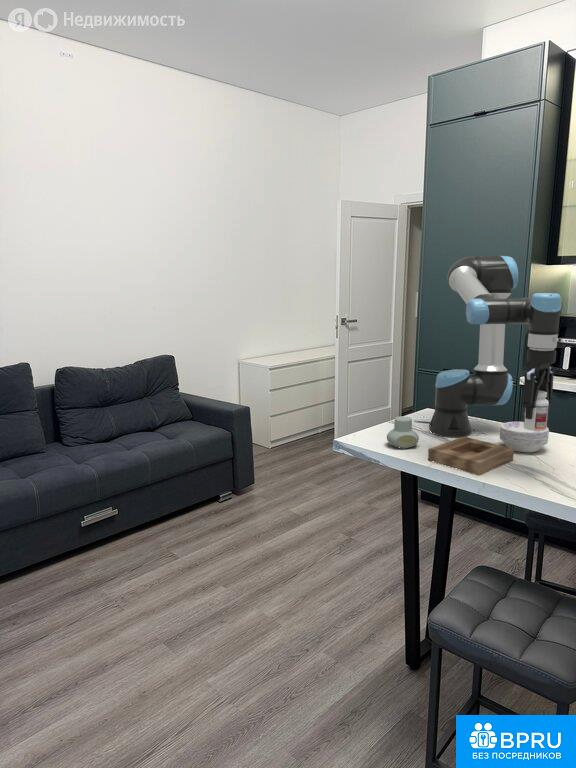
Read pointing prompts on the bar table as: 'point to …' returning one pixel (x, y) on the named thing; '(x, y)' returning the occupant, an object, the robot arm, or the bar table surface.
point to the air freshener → (402, 433)
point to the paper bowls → (522, 437)
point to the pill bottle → (541, 411)
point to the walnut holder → (471, 455)
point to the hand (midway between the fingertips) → (534, 426)
